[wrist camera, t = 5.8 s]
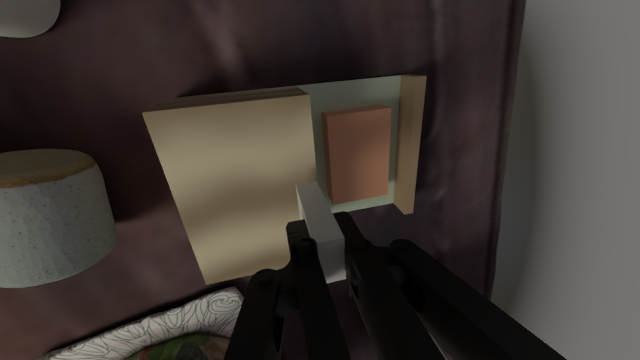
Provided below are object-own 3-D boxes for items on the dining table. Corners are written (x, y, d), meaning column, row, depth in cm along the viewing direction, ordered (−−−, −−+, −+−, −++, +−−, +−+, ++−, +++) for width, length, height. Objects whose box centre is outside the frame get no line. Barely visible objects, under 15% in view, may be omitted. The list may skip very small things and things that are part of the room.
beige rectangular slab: (175, 97, 21) (141, 112, 15) (295, 85, 23) (309, 94, 16) (218, 233, 27) (206, 284, 21) (309, 216, 29) (324, 259, 23)
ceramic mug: (114, 144, 22) (45, 182, 15) (134, 225, 25) (86, 287, 18) (-47, 140, 19) (-218, 183, 12) (-1, 230, 22) (-117, 304, 16)
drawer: (295, 85, 23) (300, 88, 20) (408, 74, 24) (426, 75, 22) (309, 216, 29) (315, 232, 26) (399, 199, 31) (412, 212, 28)
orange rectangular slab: (391, 107, 23) (381, 104, 25) (326, 116, 22) (321, 112, 24) (387, 194, 27) (379, 186, 29) (333, 204, 26) (328, 195, 28)
